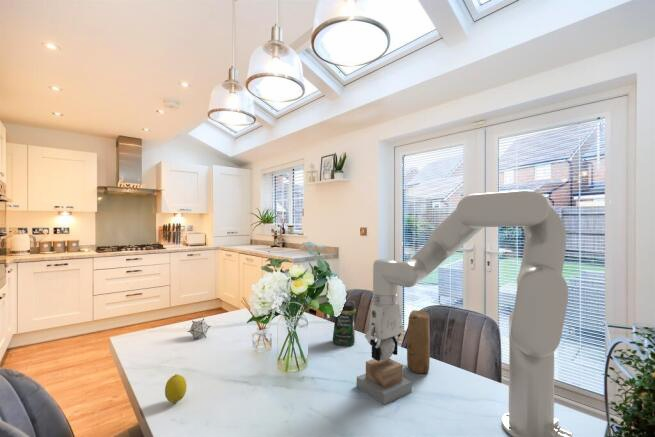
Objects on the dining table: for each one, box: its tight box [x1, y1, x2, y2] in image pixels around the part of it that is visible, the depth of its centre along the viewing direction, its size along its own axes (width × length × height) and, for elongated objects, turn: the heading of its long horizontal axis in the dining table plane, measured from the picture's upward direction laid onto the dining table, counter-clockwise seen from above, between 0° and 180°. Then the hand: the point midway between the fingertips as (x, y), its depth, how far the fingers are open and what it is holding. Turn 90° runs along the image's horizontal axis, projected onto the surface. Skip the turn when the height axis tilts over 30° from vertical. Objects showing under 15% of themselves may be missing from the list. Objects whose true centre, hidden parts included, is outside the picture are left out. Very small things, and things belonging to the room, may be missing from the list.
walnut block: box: [365, 358, 404, 389], centre depth 97 cm, size 8×8×5 cm
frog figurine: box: [379, 338, 395, 360], centre depth 97 cm, size 6×7×7 cm
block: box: [406, 309, 431, 374], centre depth 112 cm, size 11×8×20 cm
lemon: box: [164, 373, 187, 404], centre depth 88 cm, size 6×6×8 cm
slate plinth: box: [356, 373, 413, 405], centre depth 97 cm, size 12×12×3 cm
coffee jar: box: [332, 299, 357, 347], centre depth 134 cm, size 10×8×19 cm
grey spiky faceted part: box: [187, 317, 212, 341], centre depth 137 cm, size 9×8×10 cm
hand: (384, 355), depth 97 cm, fingers closed on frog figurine, 6 cm apart
